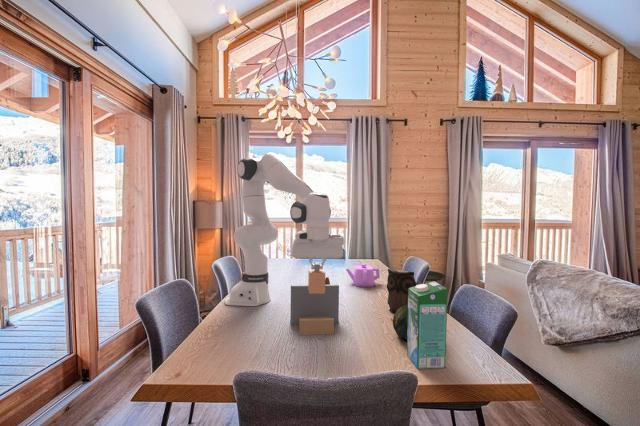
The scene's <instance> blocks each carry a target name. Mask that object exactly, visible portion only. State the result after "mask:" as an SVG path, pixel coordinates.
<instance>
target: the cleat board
mask: <svg viewBox="0 0 640 426" xmlns="http://www.w3.org/2000/svg"><path fill="white" fill-rule="evenodd" d="M339 302H340V285H339V284H330V285H325V294H309V290H308V284H291V285H290V316H289V317H290V319H289V320H290V325H298V328H299V335H303V336H304V335H330V334H332V335H333V334H335V333H334V332H335V331H334V330H335V327H334V326H335V324H339V321H340V319H339V317H340V315H339V314H340V313H339V312H340V311H339V308H340V303H339Z"/></svg>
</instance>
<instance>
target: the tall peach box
mask: <svg viewBox="0 0 640 426" xmlns="http://www.w3.org/2000/svg"><path fill="white" fill-rule="evenodd" d="M313 264H315V269H311V268H308V276H307V277H308V279H307V280H308V283H307V285H308V290H309V294H325V279H326V272H325V269H324V268H323V269H320V264H321V263H320V262H318V261H315V262H313Z"/></svg>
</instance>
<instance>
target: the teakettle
mask: <svg viewBox="0 0 640 426" xmlns="http://www.w3.org/2000/svg"><path fill="white" fill-rule="evenodd" d="M345 271H346V272H347V273H348V276H349V277H350V278H351V280H352V283H353V285H354V287H363V288H364V287H366V288H367V287H372V286H373V287H374V285H375V280H377V279H380V277H381V276H380V268H377V267H372V266H371V265H367V264H366V263H361V264H360V265H359V264H358V265H354V268H353V273H352V271H351V270H350V269H349V268H346V269H345ZM374 272H375V274H374Z"/></svg>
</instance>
